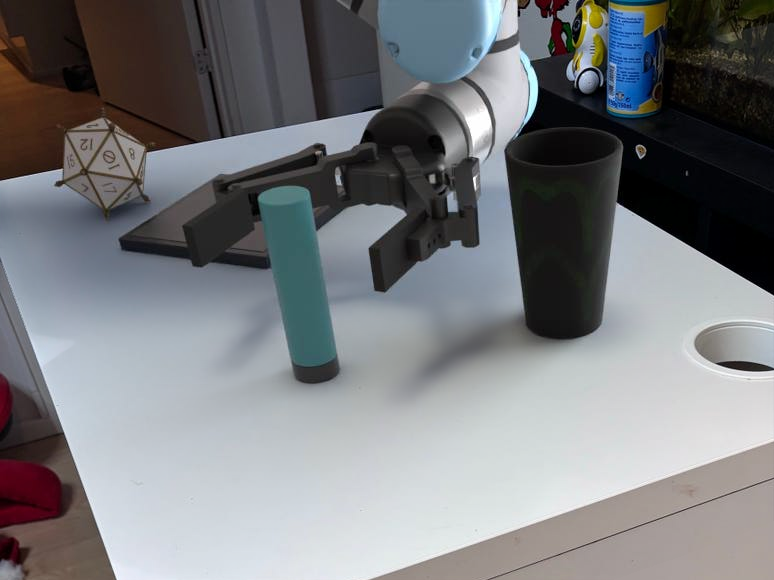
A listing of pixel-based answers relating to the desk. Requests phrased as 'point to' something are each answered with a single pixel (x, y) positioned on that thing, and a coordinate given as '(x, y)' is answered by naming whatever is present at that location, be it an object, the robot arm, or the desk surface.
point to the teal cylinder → (299, 282)
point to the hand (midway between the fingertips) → (280, 258)
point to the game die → (104, 163)
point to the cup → (563, 225)
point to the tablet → (166, 226)
